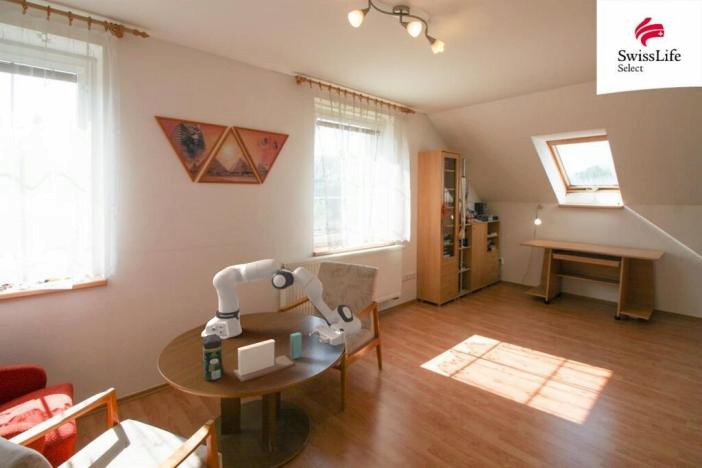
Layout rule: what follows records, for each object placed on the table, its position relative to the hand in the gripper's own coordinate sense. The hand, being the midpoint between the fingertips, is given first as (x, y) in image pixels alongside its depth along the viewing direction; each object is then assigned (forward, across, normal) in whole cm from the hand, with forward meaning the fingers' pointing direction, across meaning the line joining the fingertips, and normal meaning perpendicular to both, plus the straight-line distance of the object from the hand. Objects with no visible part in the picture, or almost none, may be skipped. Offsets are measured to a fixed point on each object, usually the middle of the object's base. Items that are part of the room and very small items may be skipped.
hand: (314, 338), depth 180 cm
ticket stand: (+28, 0, +8) cm, 29 cm away
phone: (+47, -16, +8) cm, 51 cm away
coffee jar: (+49, -8, +8) cm, 51 cm away
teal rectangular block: (+11, 0, +7) cm, 13 cm away
